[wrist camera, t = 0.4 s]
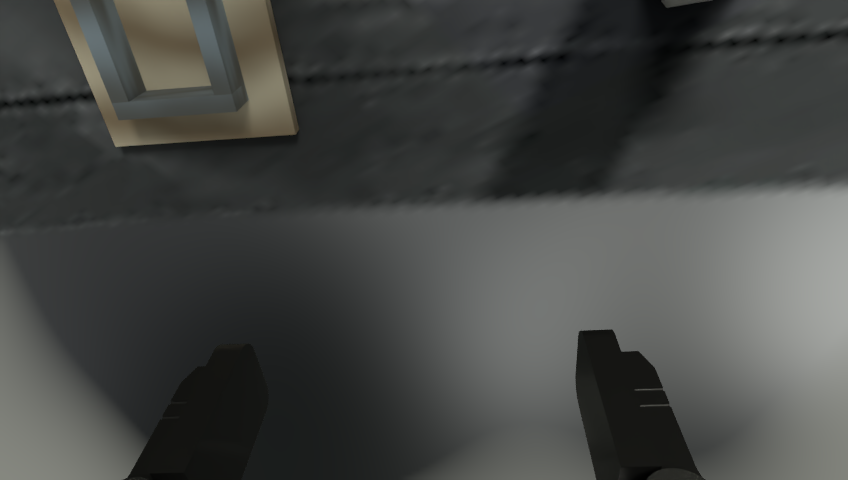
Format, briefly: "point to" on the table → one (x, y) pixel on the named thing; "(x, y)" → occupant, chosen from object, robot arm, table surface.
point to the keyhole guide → (182, 68)
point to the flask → (680, 2)
